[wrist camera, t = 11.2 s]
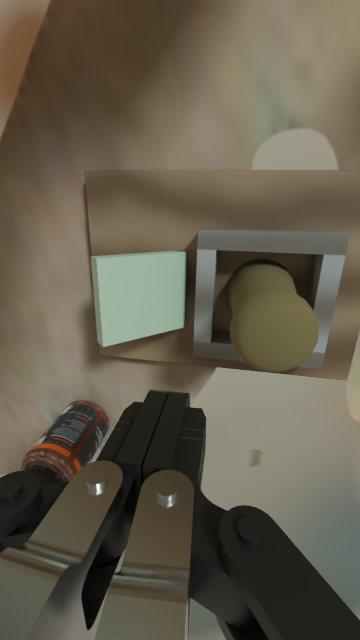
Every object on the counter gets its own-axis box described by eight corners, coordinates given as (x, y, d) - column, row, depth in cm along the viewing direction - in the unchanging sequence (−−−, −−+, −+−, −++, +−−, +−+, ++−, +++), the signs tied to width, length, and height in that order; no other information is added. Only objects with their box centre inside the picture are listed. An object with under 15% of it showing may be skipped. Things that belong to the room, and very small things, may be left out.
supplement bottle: (59, 399, 37) (-9, 473, 27) (102, 396, 36) (48, 472, 25) (74, 438, 39) (15, 521, 28) (116, 436, 38) (70, 523, 27)
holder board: (92, 172, 27) (66, 165, 23) (389, 172, 23) (423, 164, 19) (105, 349, 33) (86, 368, 29) (341, 372, 30) (359, 398, 25)
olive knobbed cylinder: (287, 327, 27) (318, 396, 17) (222, 318, 28) (215, 379, 18) (302, 262, 25) (348, 297, 15) (231, 255, 26) (229, 283, 16)
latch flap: (90, 256, 22) (96, 258, 21) (182, 250, 27) (190, 251, 26) (97, 341, 25) (103, 347, 24) (181, 322, 29) (188, 326, 28)
